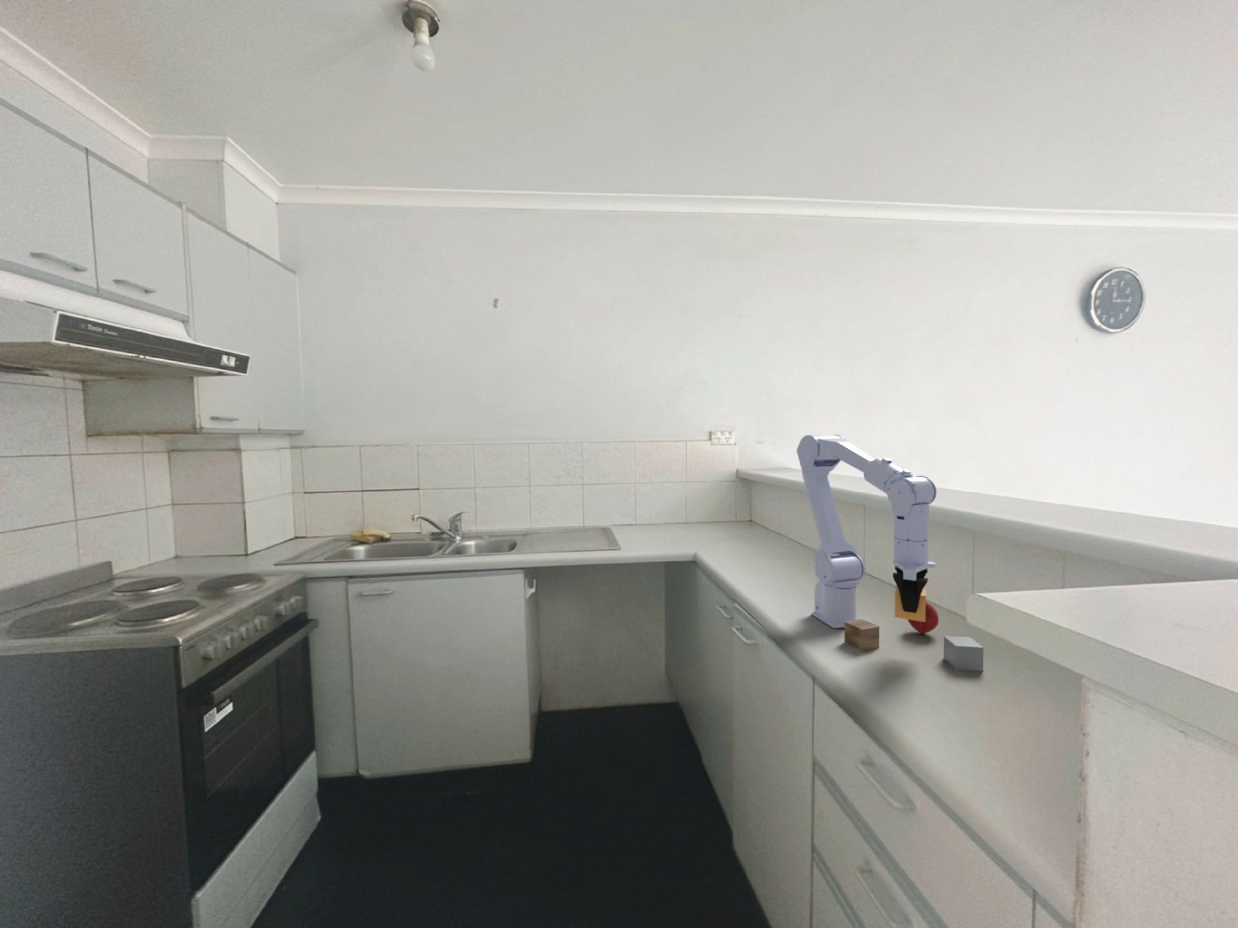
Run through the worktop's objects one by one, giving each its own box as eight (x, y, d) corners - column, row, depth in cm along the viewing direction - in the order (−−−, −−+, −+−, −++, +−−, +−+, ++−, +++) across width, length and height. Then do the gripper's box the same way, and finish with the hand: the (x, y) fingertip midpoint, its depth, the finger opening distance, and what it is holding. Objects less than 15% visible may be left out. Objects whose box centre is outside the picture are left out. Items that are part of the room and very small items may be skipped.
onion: (943, 640, 100) (944, 602, 99) (913, 638, 101) (913, 601, 100) (931, 629, 105) (931, 593, 105) (902, 627, 106) (903, 592, 106)
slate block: (943, 658, 92) (943, 635, 91) (969, 660, 91) (970, 637, 90) (955, 669, 87) (955, 645, 87) (983, 671, 86) (983, 647, 86)
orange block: (896, 609, 97) (896, 584, 96) (925, 613, 94) (925, 588, 94) (894, 617, 92) (895, 591, 92) (925, 621, 90) (925, 595, 89)
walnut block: (844, 642, 99) (844, 621, 99) (860, 639, 101) (861, 618, 101) (862, 651, 95) (862, 629, 95) (879, 647, 97) (879, 626, 97)
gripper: (936, 548, 84) (935, 623, 85) (934, 533, 96) (934, 599, 97) (890, 543, 88) (890, 615, 89) (894, 530, 100) (894, 594, 101)
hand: (910, 607), depth 93 cm, fingers closed on orange block, 5 cm apart
